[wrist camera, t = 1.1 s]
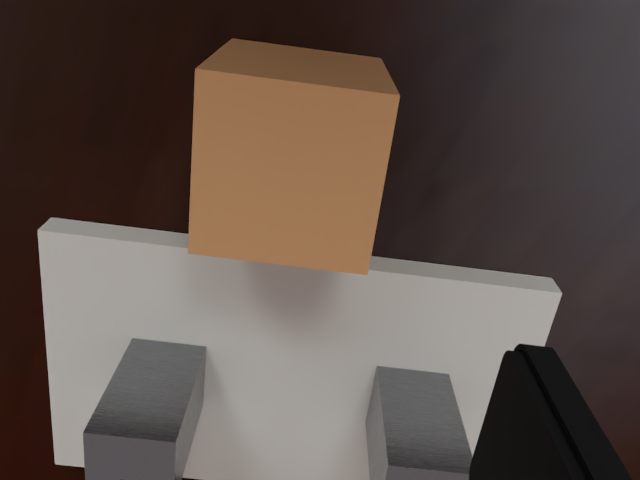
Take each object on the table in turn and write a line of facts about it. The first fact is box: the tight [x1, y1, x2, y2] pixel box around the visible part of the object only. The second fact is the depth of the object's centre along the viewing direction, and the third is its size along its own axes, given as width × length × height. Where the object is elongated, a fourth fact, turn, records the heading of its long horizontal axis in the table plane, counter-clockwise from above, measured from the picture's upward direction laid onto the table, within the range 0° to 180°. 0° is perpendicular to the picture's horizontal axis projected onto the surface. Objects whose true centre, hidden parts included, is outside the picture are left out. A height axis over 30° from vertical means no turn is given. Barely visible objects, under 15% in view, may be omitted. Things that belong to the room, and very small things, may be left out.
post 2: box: [365, 366, 472, 480], centre depth 29 cm, size 4×4×8 cm
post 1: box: [83, 338, 206, 480], centre depth 28 cm, size 4×4×8 cm
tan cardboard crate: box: [188, 38, 400, 275], centre depth 23 cm, size 6×6×8 cm
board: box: [37, 217, 562, 480], centre depth 31 cm, size 14×24×2 cm, turn 83°
